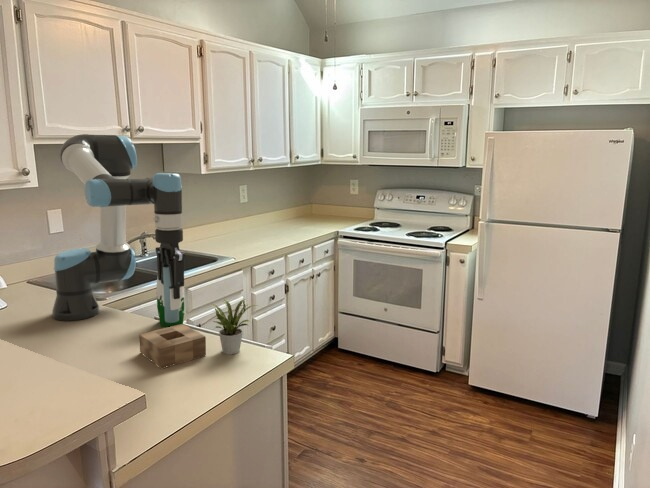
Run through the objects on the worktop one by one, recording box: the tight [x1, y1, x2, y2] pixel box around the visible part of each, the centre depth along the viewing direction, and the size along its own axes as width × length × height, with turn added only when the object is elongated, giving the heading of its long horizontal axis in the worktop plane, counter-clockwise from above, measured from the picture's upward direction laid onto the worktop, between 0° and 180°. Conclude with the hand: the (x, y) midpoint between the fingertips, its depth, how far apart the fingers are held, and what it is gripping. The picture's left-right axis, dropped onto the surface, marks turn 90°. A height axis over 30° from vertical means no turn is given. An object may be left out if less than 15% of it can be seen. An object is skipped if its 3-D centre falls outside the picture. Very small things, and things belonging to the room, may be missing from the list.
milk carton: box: [156, 276, 185, 328], centre depth 170 cm, size 9×9×20 cm
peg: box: [163, 266, 179, 323], centre depth 142 cm, size 4×4×16 cm
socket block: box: [138, 323, 207, 369], centre depth 146 cm, size 14×14×6 cm
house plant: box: [212, 298, 259, 355], centre depth 149 cm, size 14×14×16 cm
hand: (171, 306), depth 143 cm, fingers closed on peg, 4 cm apart
